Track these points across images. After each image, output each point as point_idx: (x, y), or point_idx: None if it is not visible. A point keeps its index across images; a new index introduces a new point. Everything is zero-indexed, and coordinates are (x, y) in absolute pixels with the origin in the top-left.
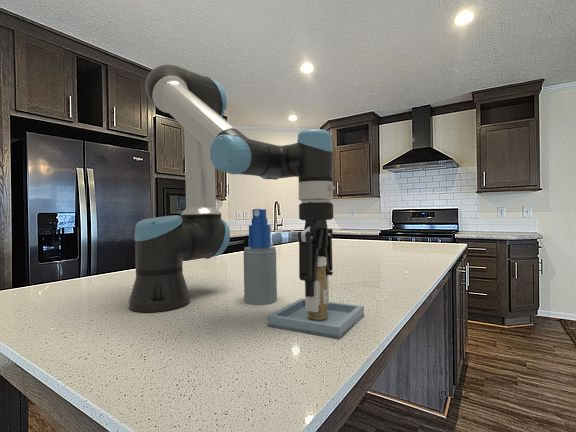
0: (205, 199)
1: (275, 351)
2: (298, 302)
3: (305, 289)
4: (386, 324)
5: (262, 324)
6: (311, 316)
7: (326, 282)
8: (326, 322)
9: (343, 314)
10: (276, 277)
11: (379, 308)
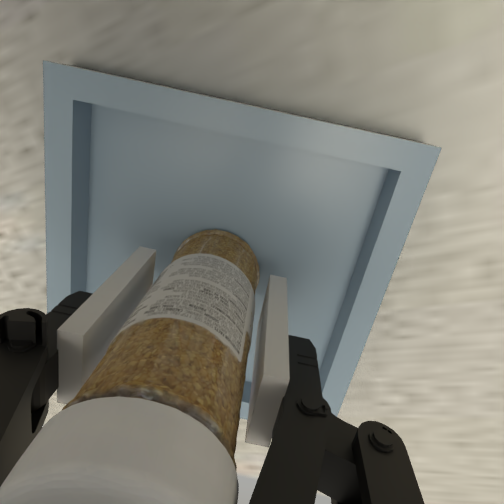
0: None
1: None
2: (338, 155)
3: (91, 298)
4: (245, 460)
5: (88, 25)
6: (174, 256)
7: (250, 403)
8: None
9: None
10: None
11: (429, 451)
